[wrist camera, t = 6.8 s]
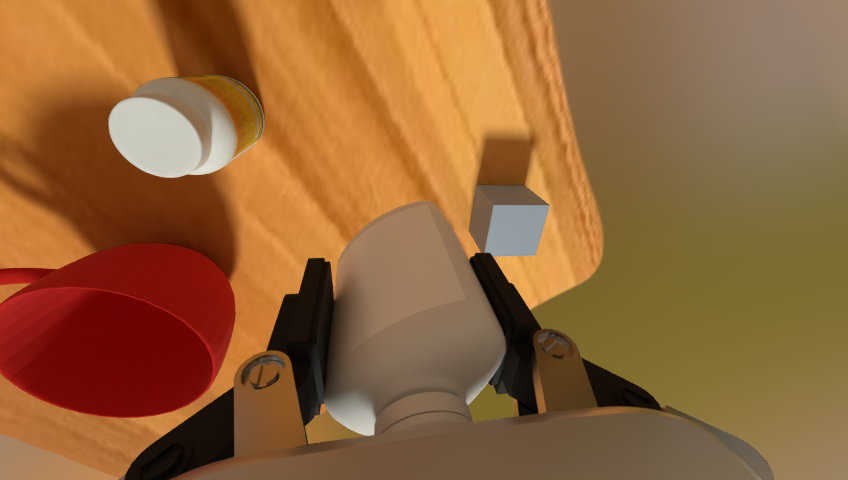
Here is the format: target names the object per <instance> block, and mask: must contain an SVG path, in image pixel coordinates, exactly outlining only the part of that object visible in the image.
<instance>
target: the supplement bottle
mask: <svg viewBox="0 0 848 480" xmlns="http://www.w3.org/2000/svg"><path fill="white" fill-rule="evenodd" d="M108 125H109V133H110V136H111V139H112V141H113V143H114V144H115V146H116V148H117V149H118V150H119V152H120V153H121V154H122V155H123V156H124V157H125V158H126V159H127V160H128V161H129V162H130V163H132V164H133V165H134V166H136V167H137V168H139V169H141V170H143V171H145V172H147V173H150V174H152V175H156V176H160V177H167V178H174V177H180V176H184V175H187V174H191V175H203V174H209V173H212V172H215V171H217V170H219V169H221V168H223V167H224V166H226V165H227V164H228V163H230V162H231V161H232V160H234V159H235V158H236V157H238V156H239V155H241V154H242V153H244V152H245V151H246V150H248V149H249V148H251V147H252V146H253V145H254V144H256V143H257V142H258V140H259V139H260V137H261V136H262V134H263V131H264V114H263V110H262V107H261V105H260V103H259V101H258V99H257V98H256V96H255V95H254V94H253V93H252V91H251V90H250V89H248V88H247V87H246V86H245V85H244V84H242V83H241V82H239V81H237V80H235V79H233V78H230V77H227V76H222V75H199V76H185V77H169V78H159V79H155V80H152V81H149V82H147V83H145V84H143V85H142V86H140V87H139V88H138V89H137V90H136V91H135V92H134V94H133V95H132V97H129V98H127V99H124V100H122V101H120V102H119V103H118V104H117V105H116V106H115V107H114V108H113V109H112V111H111V113H110V116H109V121H108Z"/></svg>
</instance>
